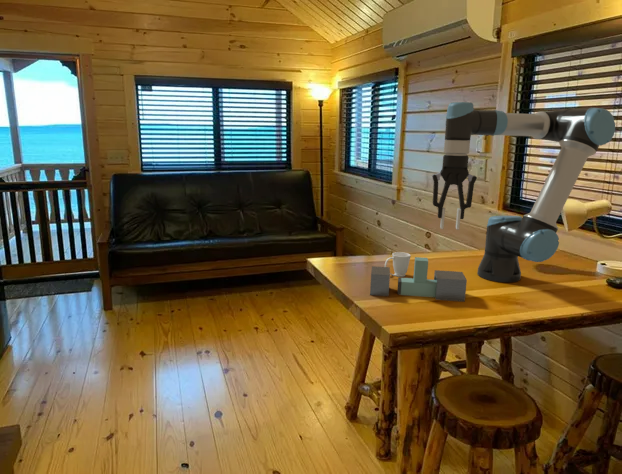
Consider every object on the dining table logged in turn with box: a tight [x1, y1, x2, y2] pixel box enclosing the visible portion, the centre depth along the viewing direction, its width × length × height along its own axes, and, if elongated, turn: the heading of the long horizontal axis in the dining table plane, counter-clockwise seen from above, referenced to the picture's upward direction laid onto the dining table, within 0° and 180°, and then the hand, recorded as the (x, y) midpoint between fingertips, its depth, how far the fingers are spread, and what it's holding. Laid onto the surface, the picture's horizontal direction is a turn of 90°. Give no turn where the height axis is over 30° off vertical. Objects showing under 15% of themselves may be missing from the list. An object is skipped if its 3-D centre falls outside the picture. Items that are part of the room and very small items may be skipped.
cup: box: [383, 251, 412, 278], centre depth 175 cm, size 7×10×8 cm
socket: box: [369, 265, 391, 297], centre depth 158 cm, size 6×9×7 cm
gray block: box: [433, 269, 468, 303], centre depth 154 cm, size 9×9×7 cm
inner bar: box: [396, 256, 437, 298], centre depth 155 cm, size 21×4×12 cm, turn 81°
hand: (449, 228), depth 150 cm, fingers open, 4 cm apart
